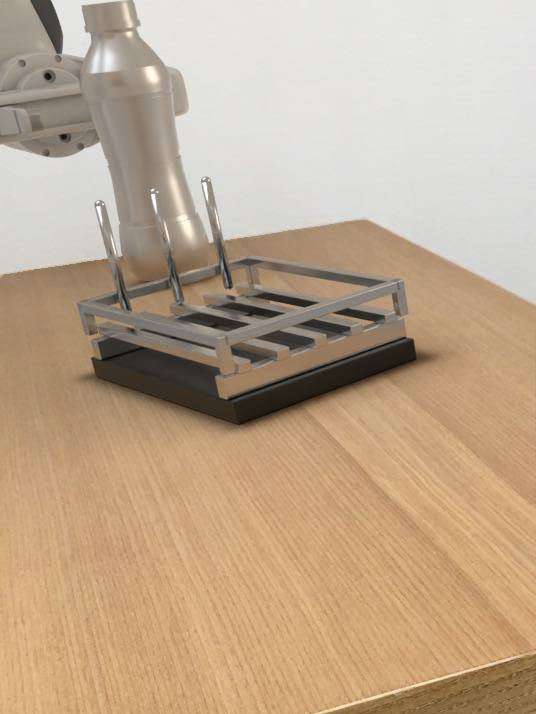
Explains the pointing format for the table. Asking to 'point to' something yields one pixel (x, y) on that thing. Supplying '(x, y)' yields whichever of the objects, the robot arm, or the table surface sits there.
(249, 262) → the dish rack
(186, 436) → the table surface
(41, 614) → the table surface
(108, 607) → the table surface
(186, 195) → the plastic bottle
